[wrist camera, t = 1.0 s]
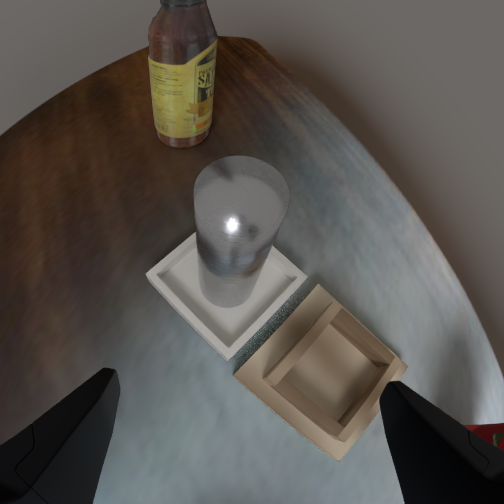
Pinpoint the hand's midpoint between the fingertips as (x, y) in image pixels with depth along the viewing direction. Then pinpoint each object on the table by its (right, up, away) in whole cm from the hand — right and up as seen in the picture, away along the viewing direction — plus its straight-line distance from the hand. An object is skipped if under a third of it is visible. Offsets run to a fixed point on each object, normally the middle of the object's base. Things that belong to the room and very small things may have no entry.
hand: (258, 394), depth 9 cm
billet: (-2, +2, +16) cm, 16 cm away
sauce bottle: (-8, +18, +23) cm, 30 cm away
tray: (-2, +2, +16) cm, 17 cm away
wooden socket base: (+6, -5, +14) cm, 16 cm away
